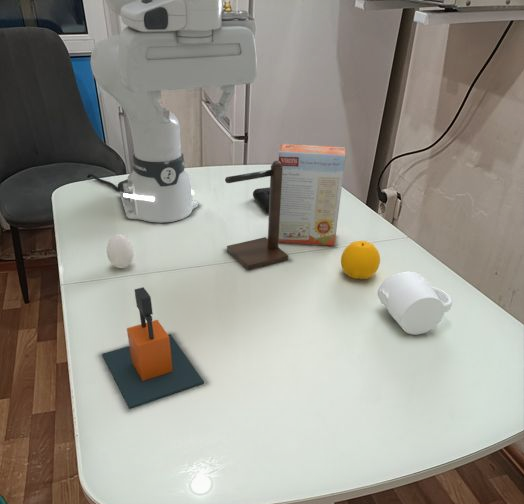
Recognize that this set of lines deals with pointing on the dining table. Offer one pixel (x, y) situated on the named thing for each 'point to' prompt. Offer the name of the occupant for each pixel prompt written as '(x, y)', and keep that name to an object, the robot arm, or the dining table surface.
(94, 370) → the dining table surface
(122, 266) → the egg
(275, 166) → the hook stand
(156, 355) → the tall orange prism
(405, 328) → the mug
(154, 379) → the mat
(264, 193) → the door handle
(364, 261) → the orange round ball
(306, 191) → the cracker box
